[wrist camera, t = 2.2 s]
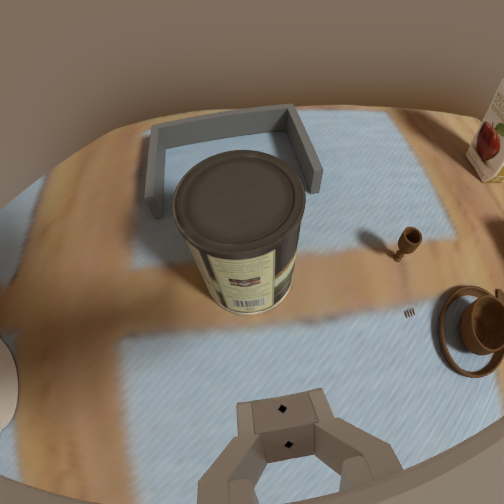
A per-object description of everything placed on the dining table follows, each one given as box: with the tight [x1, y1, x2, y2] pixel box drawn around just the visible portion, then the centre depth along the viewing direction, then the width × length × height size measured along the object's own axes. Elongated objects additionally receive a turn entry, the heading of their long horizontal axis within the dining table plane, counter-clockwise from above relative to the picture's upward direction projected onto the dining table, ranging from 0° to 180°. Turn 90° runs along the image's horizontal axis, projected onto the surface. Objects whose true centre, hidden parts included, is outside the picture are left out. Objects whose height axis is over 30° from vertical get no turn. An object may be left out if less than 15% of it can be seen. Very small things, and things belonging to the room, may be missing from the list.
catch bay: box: [144, 104, 323, 219], centre depth 42 cm, size 22×15×4 cm
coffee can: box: [172, 150, 306, 315], centre depth 29 cm, size 10×10×14 cm
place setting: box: [393, 227, 504, 378], centre depth 29 cm, size 18×20×6 cm
